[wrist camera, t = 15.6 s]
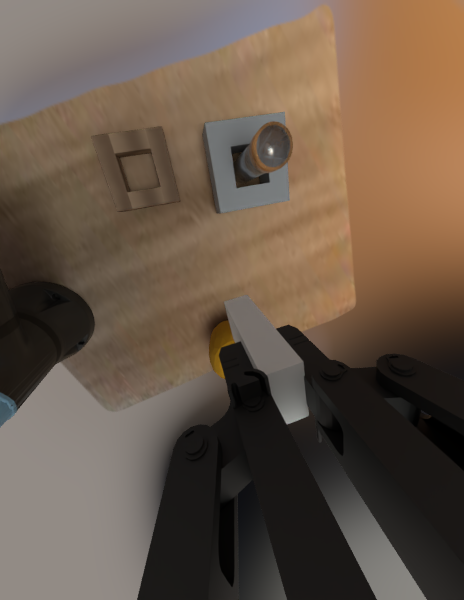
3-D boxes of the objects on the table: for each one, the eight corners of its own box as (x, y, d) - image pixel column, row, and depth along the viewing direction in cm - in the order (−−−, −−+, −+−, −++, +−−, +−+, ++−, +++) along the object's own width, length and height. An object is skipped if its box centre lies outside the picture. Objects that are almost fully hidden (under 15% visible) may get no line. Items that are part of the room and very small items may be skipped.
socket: (216, 213, 40) (220, 213, 35) (202, 134, 35) (204, 122, 30) (278, 201, 41) (289, 200, 36) (272, 124, 36) (284, 111, 32)
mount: (121, 211, 37) (117, 211, 34) (97, 141, 33) (90, 136, 30) (180, 201, 38) (179, 200, 35) (163, 132, 34) (161, 126, 31)
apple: (254, 308, 48) (276, 338, 37) (250, 349, 52) (268, 388, 41) (205, 309, 46) (212, 342, 35) (204, 351, 50) (210, 394, 38)
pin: (231, 187, 39) (256, 173, 25) (227, 157, 37) (251, 124, 23) (256, 183, 39) (293, 166, 25) (252, 153, 37) (291, 118, 24)
